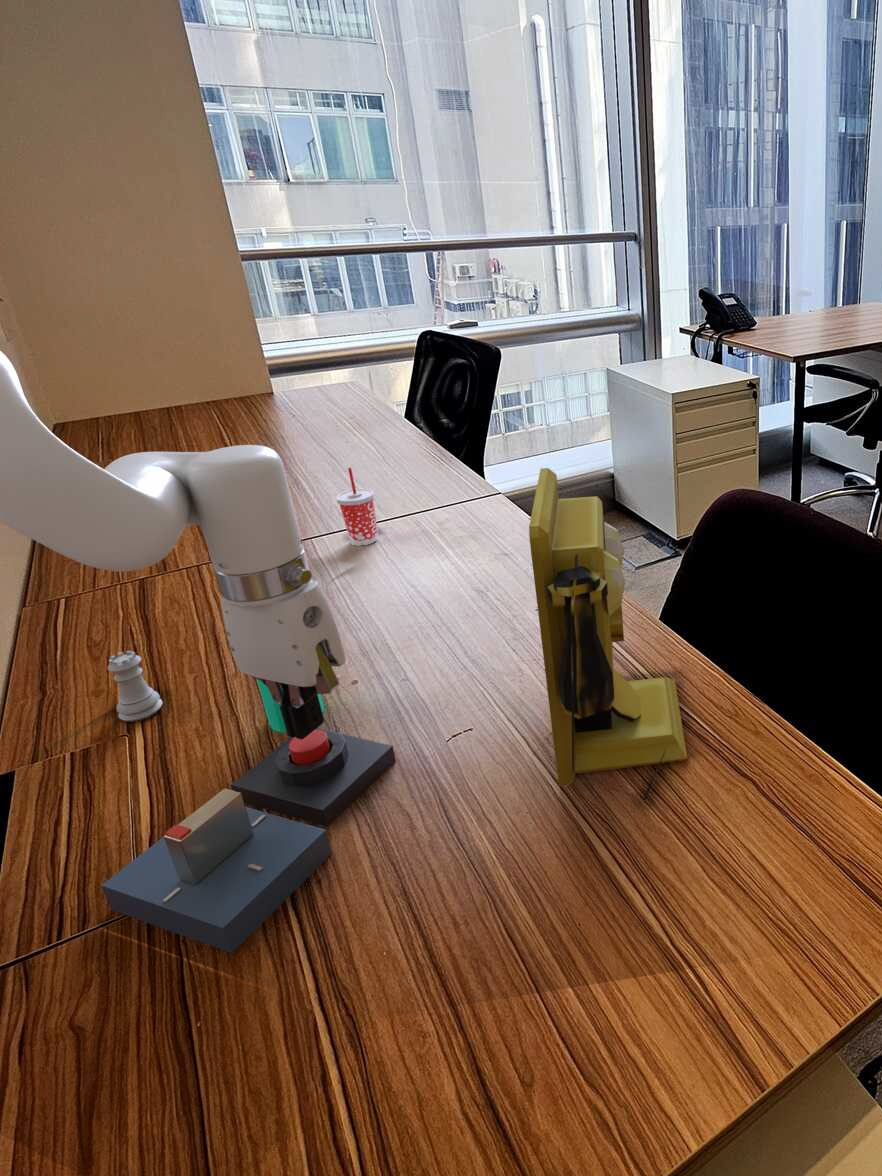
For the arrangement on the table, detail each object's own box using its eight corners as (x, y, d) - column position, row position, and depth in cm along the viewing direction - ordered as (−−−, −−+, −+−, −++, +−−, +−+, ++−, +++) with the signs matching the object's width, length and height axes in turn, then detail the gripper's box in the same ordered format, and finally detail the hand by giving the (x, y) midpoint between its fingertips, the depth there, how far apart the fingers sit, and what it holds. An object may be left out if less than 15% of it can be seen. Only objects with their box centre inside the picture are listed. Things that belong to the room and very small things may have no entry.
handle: (238, 829, 73) (223, 785, 71) (254, 834, 73) (240, 790, 71) (178, 879, 68) (161, 833, 66) (195, 885, 68) (179, 839, 66)
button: (284, 761, 81) (280, 748, 81) (311, 739, 84) (307, 726, 84) (311, 768, 80) (307, 755, 80) (337, 746, 83) (334, 733, 83)
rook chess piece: (163, 715, 94) (144, 659, 91) (118, 728, 92) (97, 671, 89) (163, 696, 98) (145, 642, 95) (120, 709, 95) (99, 653, 92)
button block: (235, 801, 81) (225, 770, 80) (310, 740, 90) (303, 712, 88) (327, 827, 78) (319, 796, 76) (396, 761, 86) (390, 732, 85)
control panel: (111, 910, 69) (100, 884, 68) (221, 820, 79) (213, 796, 77) (232, 953, 65) (222, 926, 64) (332, 853, 75) (325, 828, 73)
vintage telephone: (697, 825, 77) (688, 556, 66) (555, 844, 75) (520, 569, 64) (670, 653, 106) (660, 444, 95) (566, 663, 104) (543, 451, 93)
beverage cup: (365, 549, 137) (350, 475, 132) (338, 545, 139) (322, 471, 134) (390, 536, 142) (376, 464, 137) (363, 531, 144) (349, 460, 139)
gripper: (356, 567, 75) (390, 721, 82) (238, 548, 80) (280, 696, 87) (294, 604, 69) (337, 768, 76) (169, 581, 73) (220, 738, 80)
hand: (306, 729), depth 81 cm, fingers closed
